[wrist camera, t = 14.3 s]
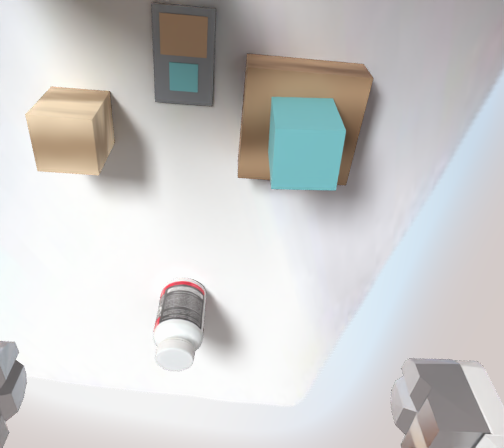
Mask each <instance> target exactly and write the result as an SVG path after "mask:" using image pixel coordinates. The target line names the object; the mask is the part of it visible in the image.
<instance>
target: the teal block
mask: <svg viewBox="0 0 504 448" xmlns="http://www.w3.org/2000/svg"><path fill="white" fill-rule="evenodd" d="M345 134H346V129H345V127H344V124H343V122H342V119H341V117H340V115H339V112H338V110H337V107H336V105H335V102H334V100H333V98H300V97H271V113H270V130H269V146H268V156H269V168H270V180H271V189H292V190H336V187H337V181H338V175H339V169H340V163H341V158H342V152H343V146H344V140H345Z"/></svg>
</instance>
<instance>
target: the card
mask: <svg viewBox="0 0 504 448" xmlns="http://www.w3.org/2000/svg"><path fill="white" fill-rule="evenodd" d="M151 6H152V31H153V56H154V81H155V102H164V103H177V104H190V105H203V106H212V98H213V72H214V46H215V19H216V9H215V8H205V7H194V6H183V5H172V4H161V3H151Z"/></svg>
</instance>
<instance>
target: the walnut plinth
mask: <svg viewBox="0 0 504 448" xmlns="http://www.w3.org/2000/svg"><path fill="white" fill-rule="evenodd" d="M372 81H373V77H372V76H371V74H370V73H369V71H368V70H367V68H366V67H365V65H364V64H357V63H346V62H335V61H324V60H313V59H302V58H291V57H280V56H269V55H258V54H247V60H246V72H245V83H244V95H243V107H242V119H241V131H240V142H239V154H238V178H249V179H263V180H270V168H269V156H268V146H269V130H270V113H271V97H300V98H333V100H334V102H335V105H336V107H337V110H338V112H339V115H340V117H341V119H342V122H343V124H344V127H345V129H346V134H345V140H344V146H343V152H342V158H341V163H340V169H339V175H338V181H337V185H346V183H347V179H348V175H349V172H350V168H351V164H352V160H353V156H354V152H355V148H356V144H357V140H358V136H359V132H360V128H361V124H362V121H363V117H364V113H365V109H366V105H367V101H368V97H369V93H370V89H371V85H372Z"/></svg>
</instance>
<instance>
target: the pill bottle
mask: <svg viewBox="0 0 504 448" xmlns="http://www.w3.org/2000/svg"><path fill="white" fill-rule="evenodd" d="M205 306H206V291H205V289H204V288H203V286H202V285H201V284H200V283H198V282H197V281H195V280H192V279H189V278H177V279H173V280H171V281H169V282H167V283H166V284H165V286H164V287H163V289H162V293H161V297H160V303H159V308H158V313H157V318H156V323H155V327H154V333H153V340H154V343H155V345H156V346H157V348H156V356H155V360H156V363H157V364H158V365H159V366H160V367H161V368H163V369H166V370H169V371H182V370H185V369H188V368H189V367H190V366H191V365H192V364H193V361H194V355H195V351H196V350H197V349H198V348H199V347H200V345H201V343H202V339H203V331H204V317H205Z"/></svg>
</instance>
